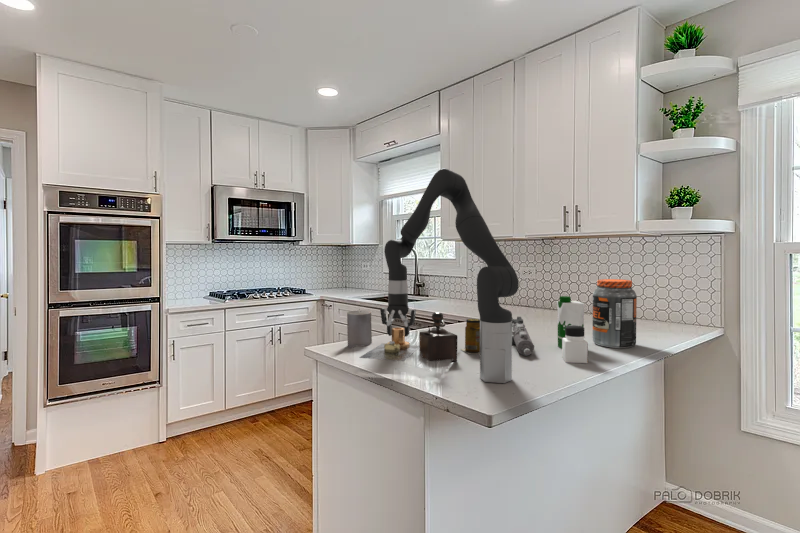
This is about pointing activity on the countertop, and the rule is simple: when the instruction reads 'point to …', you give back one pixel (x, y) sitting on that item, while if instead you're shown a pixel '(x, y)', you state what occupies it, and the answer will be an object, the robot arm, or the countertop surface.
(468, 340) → the condiment
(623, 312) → the supplement tub
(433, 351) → the coffee grinder
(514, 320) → the hydraulic cylinder
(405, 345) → the faceted vase
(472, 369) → the countertop surface
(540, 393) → the countertop surface
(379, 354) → the carrier
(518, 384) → the countertop surface
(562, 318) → the milk carton
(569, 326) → the medicine bottle
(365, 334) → the pillar candle
